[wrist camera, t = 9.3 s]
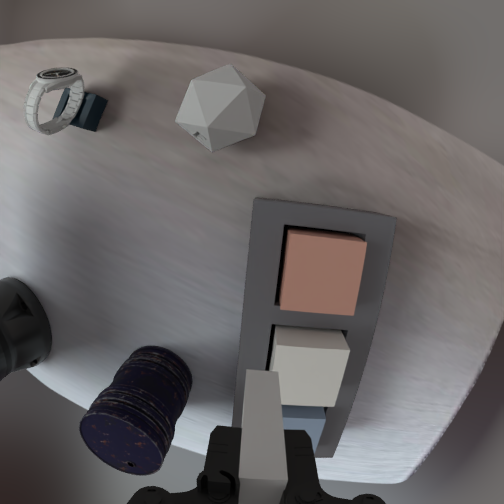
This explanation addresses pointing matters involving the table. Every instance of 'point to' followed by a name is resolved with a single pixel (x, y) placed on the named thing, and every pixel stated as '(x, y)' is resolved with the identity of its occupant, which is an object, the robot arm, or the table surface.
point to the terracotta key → (321, 271)
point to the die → (221, 108)
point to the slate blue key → (305, 420)
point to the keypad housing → (268, 312)
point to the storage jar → (138, 411)
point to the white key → (309, 364)
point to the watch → (63, 102)
